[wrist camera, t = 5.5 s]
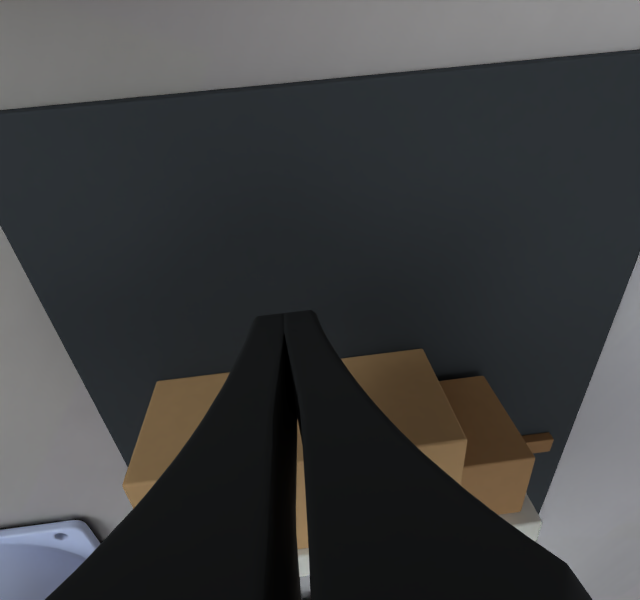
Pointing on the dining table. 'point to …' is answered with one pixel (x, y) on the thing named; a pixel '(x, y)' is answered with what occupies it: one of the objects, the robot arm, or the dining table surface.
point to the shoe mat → (340, 227)
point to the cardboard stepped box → (402, 410)
